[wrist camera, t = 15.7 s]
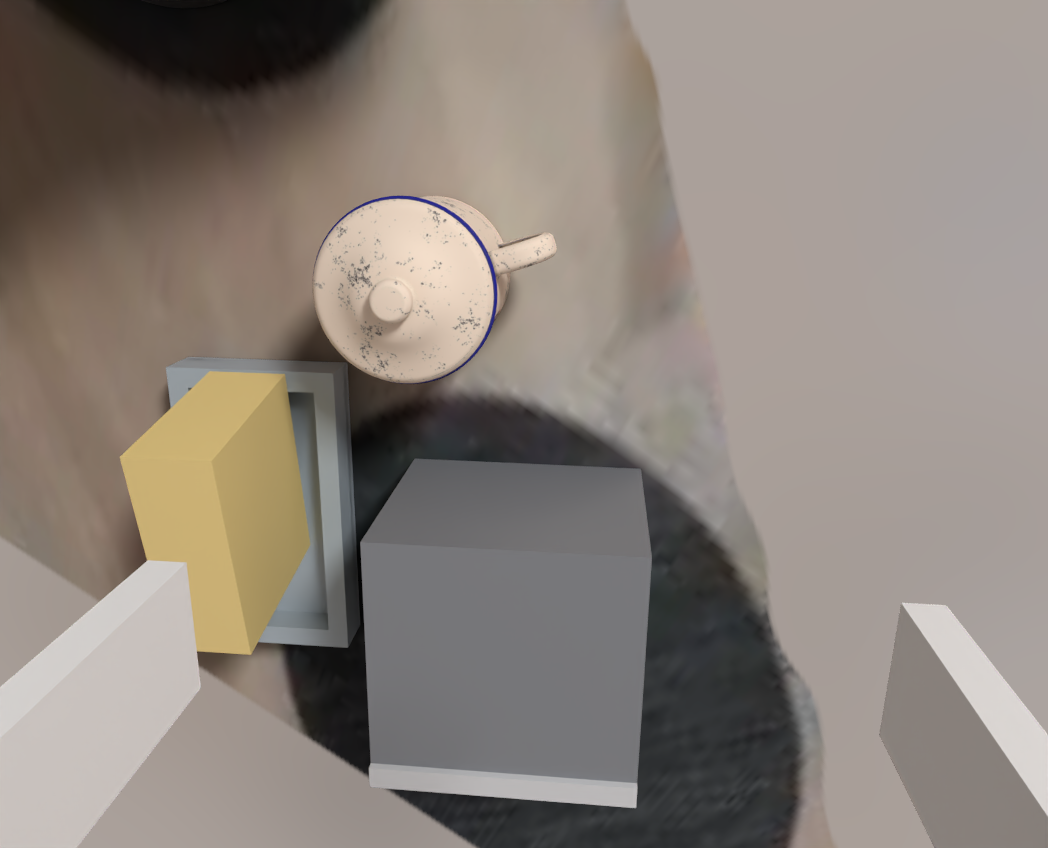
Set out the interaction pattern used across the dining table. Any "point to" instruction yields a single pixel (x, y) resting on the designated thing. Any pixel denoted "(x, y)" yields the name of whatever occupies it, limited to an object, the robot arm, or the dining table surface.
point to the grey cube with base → (508, 631)
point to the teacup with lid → (416, 284)
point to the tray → (309, 496)
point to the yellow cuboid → (224, 502)
